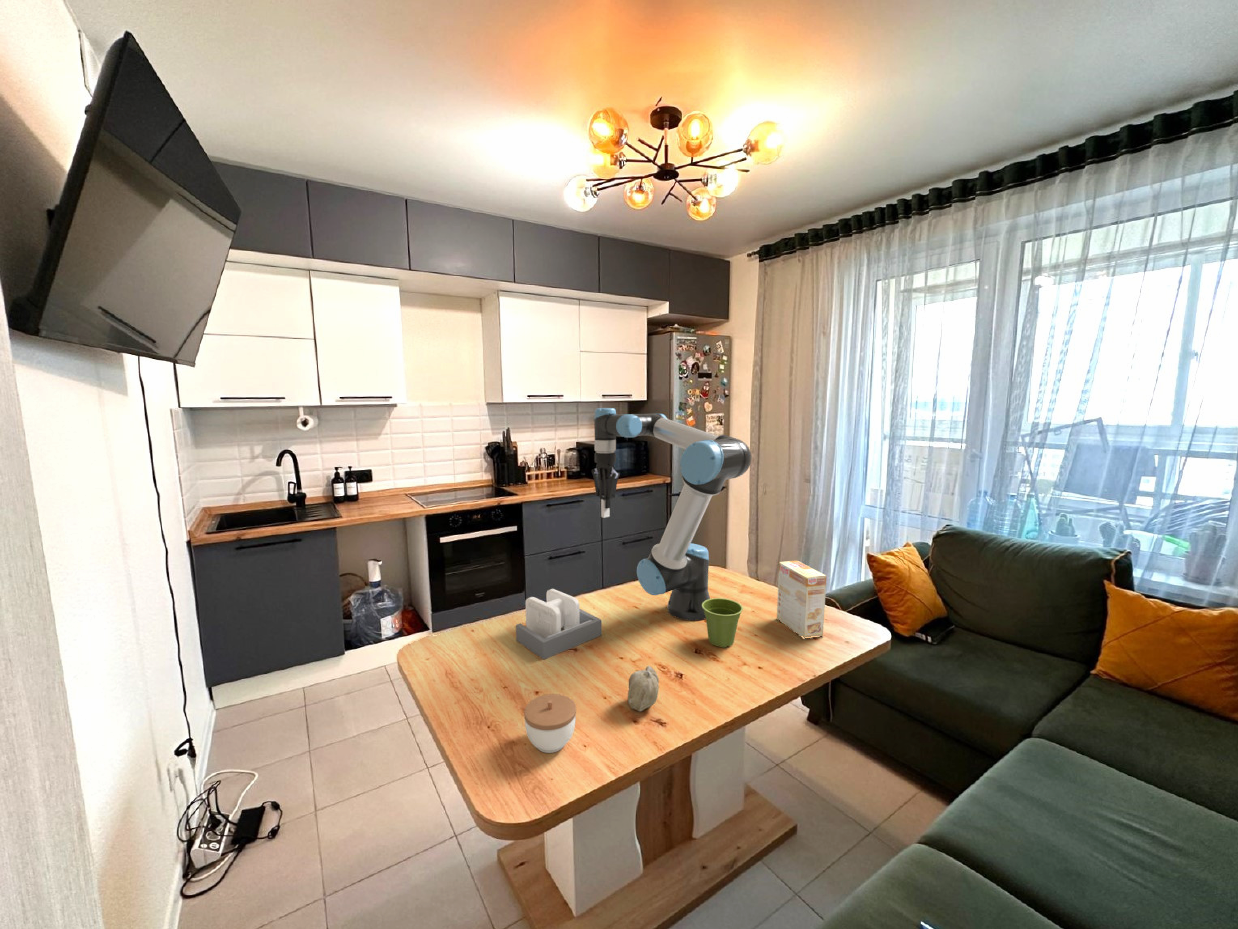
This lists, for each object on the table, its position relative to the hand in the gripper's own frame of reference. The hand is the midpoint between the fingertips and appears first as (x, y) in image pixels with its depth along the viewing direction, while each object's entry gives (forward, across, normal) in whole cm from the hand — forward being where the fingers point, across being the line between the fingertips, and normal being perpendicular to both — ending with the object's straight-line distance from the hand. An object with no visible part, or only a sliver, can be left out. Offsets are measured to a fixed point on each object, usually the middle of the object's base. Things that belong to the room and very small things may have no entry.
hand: (605, 516), depth 178 cm
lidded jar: (+30, -52, +60) cm, 85 cm away
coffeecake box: (+30, -61, -28) cm, 73 cm away
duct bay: (+29, -15, +32) cm, 46 cm away
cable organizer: (+30, -12, +32) cm, 45 cm away
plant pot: (+30, -50, -2) cm, 58 cm away
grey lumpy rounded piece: (+30, -56, +37) cm, 73 cm away
